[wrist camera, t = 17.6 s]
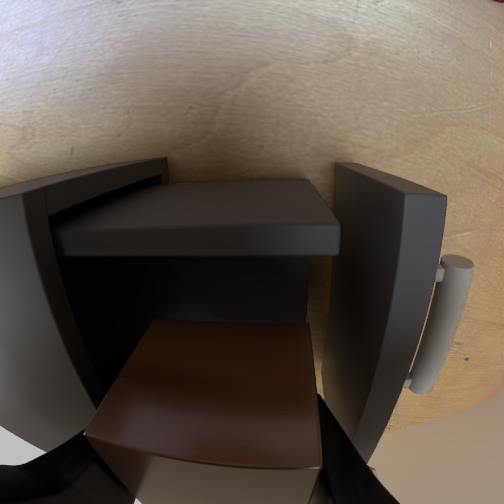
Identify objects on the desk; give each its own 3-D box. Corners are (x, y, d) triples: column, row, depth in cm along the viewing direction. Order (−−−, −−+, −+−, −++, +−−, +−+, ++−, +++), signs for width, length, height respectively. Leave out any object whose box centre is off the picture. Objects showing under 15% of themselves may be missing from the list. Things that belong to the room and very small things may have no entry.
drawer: (430, 168, 14) (547, 207, 5) (394, 367, 18) (430, 469, 10) (83, 179, 16) (-33, 220, 7) (126, 360, 20) (73, 448, 12)
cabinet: (167, 156, 16) (22, 192, 6) (196, 366, 21) (152, 491, 11) (-5, 189, 17) (-103, 230, 7) (38, 340, 23) (-24, 409, 13)
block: (300, 419, 11) (300, 528, 6) (181, 412, 11) (147, 510, 6) (309, 321, 9) (323, 467, 4) (154, 316, 9) (81, 433, 5)
